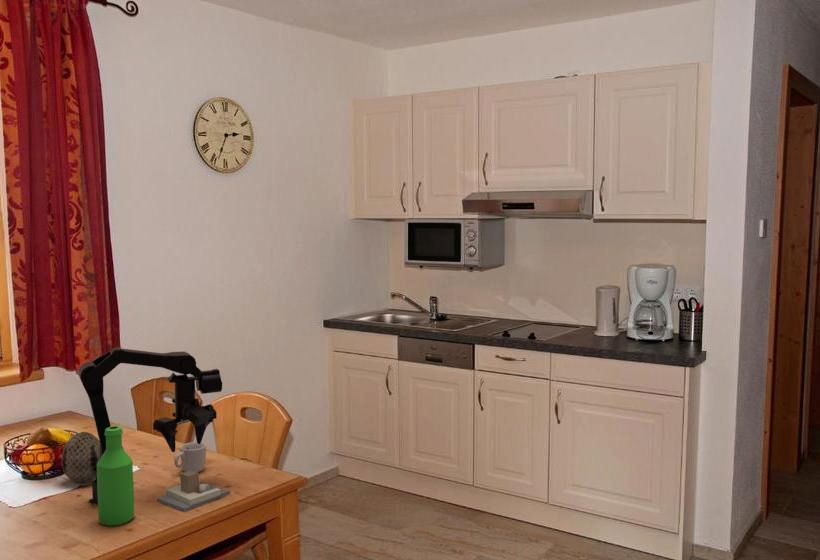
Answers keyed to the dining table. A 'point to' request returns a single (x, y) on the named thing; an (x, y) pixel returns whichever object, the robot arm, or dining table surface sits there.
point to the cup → (191, 457)
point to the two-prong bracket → (191, 489)
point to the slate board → (185, 507)
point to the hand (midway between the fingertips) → (186, 447)
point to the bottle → (115, 481)
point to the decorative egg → (81, 457)
